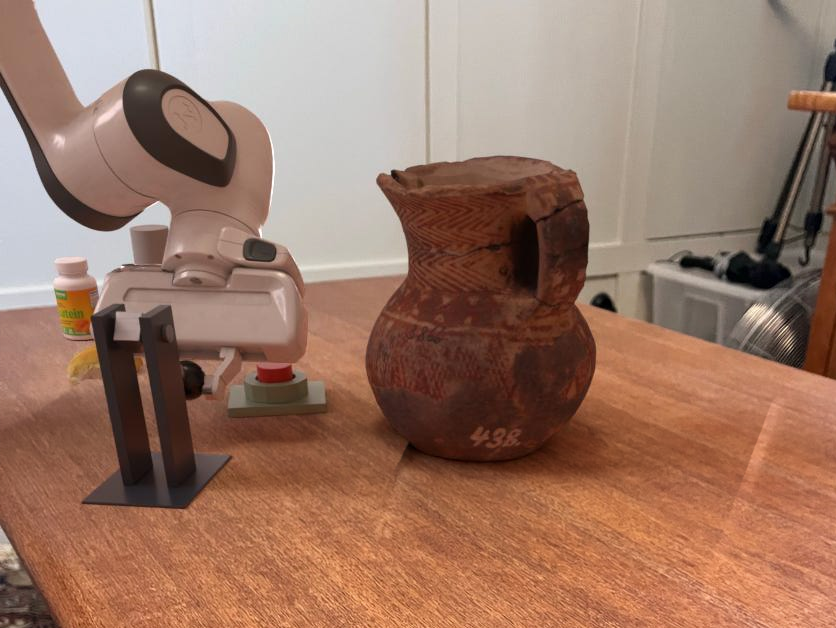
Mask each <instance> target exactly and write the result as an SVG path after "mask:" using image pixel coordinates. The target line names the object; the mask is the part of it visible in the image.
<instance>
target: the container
mask: <svg viewBox="0 0 836 628" xmlns="http://www.w3.org/2000/svg"><path fill="white" fill-rule="evenodd" d="M168 232H169V226H168V225H166V224H165V225H164V224H141V225H135V226H131V227H129V234H130V240H131V247H132V255H133V264H136V265H145V264H162V262H163V257H164V252H165V247H166V242H167V237H168Z"/></svg>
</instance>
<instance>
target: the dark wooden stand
mask: <svg viewBox="0 0 836 628" xmlns="http://www.w3.org/2000/svg"><path fill="white" fill-rule="evenodd" d="M116 312H126V309H125V304H115V303H114V304H112V305H110V306H108V307H106V308H104V309H103V310H101V311H99V312H97V313H95V314H93V315H92V316H90V318H91V324H92V329H93V334H94V339H95V340H94V339H93V340H94V343H95V344H94V345H96V349H97V354H98V359H99V364H100V369H101V375H102V379H101V380H102V385H103V389H104V395H105V400H106V404H107V405H106V406H107V410H108V415H109V420H110V426H111V430H112V435H113V440H114V446H115V451H116V457H117V461H118V466H119V467H118V469H117V470H115V472H112V474H111V475H110V476H109V477H107V478H106V479H105V480H104V481H102V483H101V484H99V486H97V487H96V488H95V489H94V490H93V491H91V492H90V493H89V494H88V495H87V496H86V497H85V498H84V499H82V501H81V505H91V506H92V505H93V506H97V505H98V506H111V507H112V506H113V507H129V508H130V507H134V508H152V509H170V510H171V509H172V510H174V509H175V510H186V509H187V508H188V506H190V504H191V503H192V502H193V501H194V500H195V499H196V498H197V497H198V496H199V494H200V493H201V492H202V491H203V490H204V489H205V488H206V487H207V486H208V485H209V484H210V483H211V481H213V479H214V478H215V477H216V476H217V475H218V474H219V472H220V471H221V470H223V469H224V467H225V466H226V465H227V464H228V463H229V462H230V460H231V459H232V458H233V455H232V454H223V453H222V454H221V453H202V452H201V453H199V452H195V450H194V445H193V443H194V442H193V438H192V431H191V425H190V418H189V412H188V405H187V401H186V398H185V392H184V385H183V379H182V372H181V366H180V361H181V359H179V353H178V346H177V340H176V333H175V327H174V321H173V314H172V308H171V305H159V306H157V307H155V308H154V309H152V310H150V311H149V312H147V313H145V314H144V315H142V316H140V317H139V324H140V330H141V336H142V341H143V347H144V353H145V358H144V360H145V364H146V370H147V376H148V381H149V387H150V394H151V399H152V404H153V405H152V406H153V411H154V417H155V421H156V428H157V434H158V439H159V446H160V451H156V450H155V451H153V450H151V445H150V439H149V433H148V428H147V427H148V426H147V423H146V418H145V417H146V416H145V412H144V411H145V410H144V405H143V400H142V395H141V394H142V393H141V389H140V382H139V377H138V372H137V371H136V365H135V360H134V354H133V353H128V352H127V351H126V350H125V349H123V348H122V347H121V346H120V345H119V344H118V343H116V342H115V341H114V340H113V339H114V329H115V320H116Z"/></svg>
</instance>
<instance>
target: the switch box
mask: <svg viewBox="0 0 836 628" xmlns="http://www.w3.org/2000/svg"><path fill="white" fill-rule="evenodd" d="M292 373H293V379H292V380H291V381H287V382H282V383H262V382H259V381H258V374H257V370H256V371H255V370H254V371H252V372H250V373H248V374H246V375H244V376H243V384H230V389H229V393H228V394H229V395H228V400H227V405H226V406H227V407H226V412H227V418H240V417H243V418H244V417H262V416H279V415H280V416H281V415H282V416H283V415H297V414H298V415H300V414H301V415H303V414H318V413H319V414H320V413H321V414H322V413H327V412H328V410H327V399H326V389H325V387H326V386H325V381H324V380H309V381H308V374H307V372H304V371H302V370H300V369H294V368H292Z"/></svg>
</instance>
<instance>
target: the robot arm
mask: <svg viewBox="0 0 836 628" xmlns="http://www.w3.org/2000/svg"><path fill="white" fill-rule="evenodd" d="M0 90H1V91H2V93H3V95H4V97H5V99H6V101H7V103H8V105H9V106H10V109H11V110H12V112H13V114H14V116H15V118H16V120H17V123H18V124H19V126H20V128H21V130H22V132H23V134H24V137H25V140H26V142H27V144H28V148H29V150H30V153H31V157H32V160H33V162H34V166H35V169H36V172H37V174H38V177H39V179H40V182H41V184H42V186H43V188H44V190H45V192H46V194H47V195H48V197H49V199H50V200H51V202H53V203H54V205H55V206H56V207H57V208H58V209H59V210H60V211H61V212H62V213H63V214H64V215H66V216H67V217H68V218H70V219H71V220H72V221H74V222H76V223H77V224H79V225H80V226H82V227H84V228H88V229H90V230H93V231H97V232H105V233H107V232H109V233H110V232H115V231H118V230H121V229H122V228H124V227H125V226H127V225H128V224H129V223H130V222H132V221H133V220H134V219H135V218H137V217H138V216H139V215H141V214H142V213H144V211H145V210H146V209H148V208H150V207H152V206H154V205H155V204H158V203H161V204H163V205H164V206H166V207H167V208H168V210H169V211H170V222H169V226H168V229H169V232H168V237H167V242H166V247H165V252H164V257H163V262H162V264H145V265H136V264H135V263H130V262H129V263H122V264H121V265H120V267H117V268H115V269H112V270H111V271H109V272H107V273H106V274H105V277H104V279H103V283H102V287H101V292H100V293H99V299H98V302H97V304H96V307H95V310H94V313H93V314H95V313H97V312H99V311H101V310H103V309H104V308H106V307H108V306H110V305H112V304H114V303H115V304H125V309H126V312H142V313H144V314H145V313H147V312H149V311H150V310H152V309H154V308H155V307H157V306H159V305H171V308H172V314H173V321H174V327H175V333H176V340H177V346H178V353H179V359H180V360H189V361H193V360H195V361H197V360H198V361H215V362H216V361H219V362H221V363H220V365H219V366H218V367H217V369H216V370H215V372H213V374H206V375H205V376H204V381H203V382H204V383H205V384H204V385H203V387H202V393H203V394H202V396H203V397H205V399H206V401H218V402H219V401H220V402H221V401H224V399H225V394H226V388H227V386H229V384H230V383H231V382H232V381H233V380H234V378H235V377H237V375H239V373H240V372H241V370H242V364H243V362H246V363H260V362H269V363H291V364H297V363H298V362H299V361H300V360H301V359H302V358H304V356H305V355H306V352H307V345H308V335H309V316H308V310H307V307H306V305H305V302H304V301H303V300H304V298H305V296H306V295H305V294H306V286H305V282H304V278H303V275H302V273H301V271H300V268H299V266H298V264H297V262H296V260H295V258H294V257H293V255H292V253H291V252H290V250H289V248H288V247H286V246H285V245H283V244H281V243H279V242H274V241H272V240H268V239H265V238H263V235H262V231H263V228H264V226H265V224H266V223H267V221H268V218H269V214H270V209H271V204H272V197H273V190H274V183H275V182H274V181H275V157H274V156H275V154H274V153H275V152H274V147H273V143H272V138H271V135H270V132H269V131H268V128H267V127H266V124H264V122H263V121H262V120H261V118H259V117H258V116H257V115H256V113H254V112H253V111H252V110H250V109H248V108H247V107H245V106H243V105H241V104H239V103H237V102H234V101H230V100H224V99H223V100H208V99H205V98H204V97H202V96H201V95H200V94H198V93H197V92H196V91H195V90H194V89H193V88H191V87H190V86H189V85H187V83H185V82H183V81H182V80H181V79H179V78H177V77H176V76H174V75H172V74H169V73H167V72H165V71H162V70H159V69H154V68H144V69H139V70H137V71H135V72H133V73H132V74H130V75H128V76H127V77H125V78H123V79H122V80H121V81H120V82H118V83H117V84H115V85H114V86H112V87H110V88H109V89H108V90H106V91H105V92H103V93H102V94H101V95H100V96H99V97H98V98H97V99H95V100H94V101H92V102H91V103H90V104H88V105H86V106H85V105H83V104H82V102H81V101H80V99H79V97H78V95H77V93H76V91H75V89H74V87H73V86H72V83H71V81H70V79H69V77H68V75H67V73H66V71H65V69H64V67H63V65H62V63H61V61H60V59H59V57H58V54H57V53H56V51H55V49H54V47H53V44H52V43H51V41H50V38H49V36H48V34H47V32H46V30H45V28H44V26H43V24H42V21H41V19H40V17H39V13H38V10H37V5H36V1H35V0H0ZM90 333H91V336H92V337H93V339H92V340H94V341H95V339H94V334H93V329H92V324H91V323H90ZM133 354H134V357H138V358H141V359H145V353H133Z"/></svg>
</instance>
